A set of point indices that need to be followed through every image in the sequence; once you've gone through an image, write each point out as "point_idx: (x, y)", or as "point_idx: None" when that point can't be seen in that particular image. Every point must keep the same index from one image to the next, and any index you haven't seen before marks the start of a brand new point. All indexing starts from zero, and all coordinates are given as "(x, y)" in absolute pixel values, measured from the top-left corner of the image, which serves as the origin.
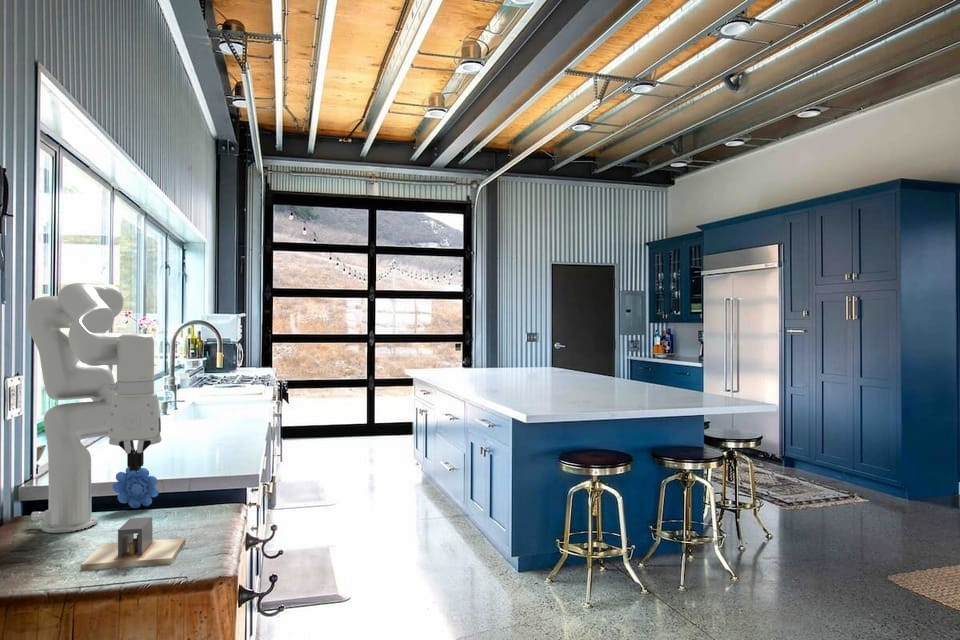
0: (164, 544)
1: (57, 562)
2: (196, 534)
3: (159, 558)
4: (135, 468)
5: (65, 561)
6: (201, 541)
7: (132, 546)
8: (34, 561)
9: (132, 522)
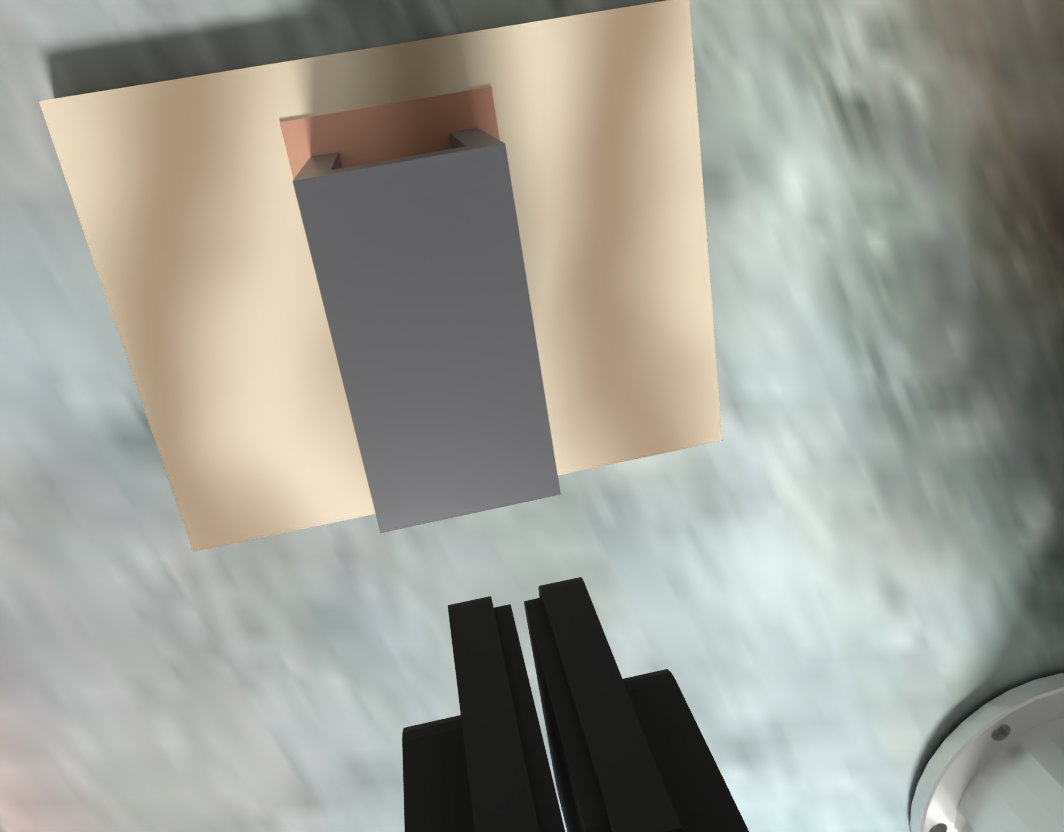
0: (277, 420)
1: (886, 177)
2: (218, 698)
3: (137, 95)
4: (482, 619)
5: (844, 195)
6: (100, 572)
7: None
8: (1028, 204)
9: (482, 379)
